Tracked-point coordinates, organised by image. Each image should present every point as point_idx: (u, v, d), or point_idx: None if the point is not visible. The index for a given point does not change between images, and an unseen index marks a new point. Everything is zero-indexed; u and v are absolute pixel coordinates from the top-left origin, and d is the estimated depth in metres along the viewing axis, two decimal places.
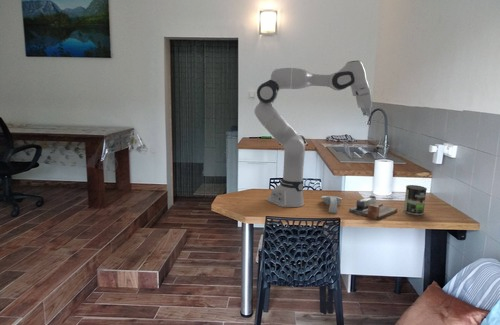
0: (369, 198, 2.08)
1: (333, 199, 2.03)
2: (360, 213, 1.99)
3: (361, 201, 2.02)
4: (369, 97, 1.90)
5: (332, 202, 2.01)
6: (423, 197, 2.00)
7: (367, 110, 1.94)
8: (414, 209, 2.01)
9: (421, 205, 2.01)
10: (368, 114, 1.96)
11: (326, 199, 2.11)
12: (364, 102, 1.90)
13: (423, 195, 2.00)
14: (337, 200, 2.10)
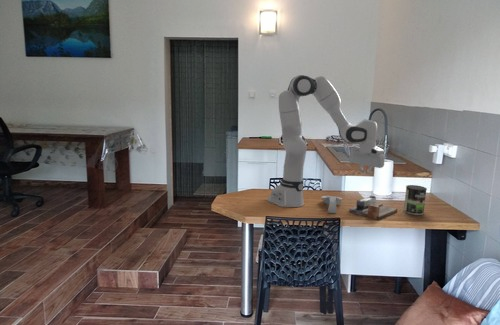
0: (369, 198, 2.08)
1: (332, 199, 2.03)
2: (360, 213, 1.99)
3: (361, 201, 2.02)
4: (383, 158, 2.04)
5: (331, 202, 2.01)
6: (423, 197, 2.00)
7: (370, 168, 2.09)
8: (414, 209, 2.01)
9: (421, 205, 2.01)
10: (369, 171, 2.10)
11: (326, 199, 2.11)
12: (381, 162, 2.02)
13: (423, 195, 2.00)
14: (337, 200, 2.09)
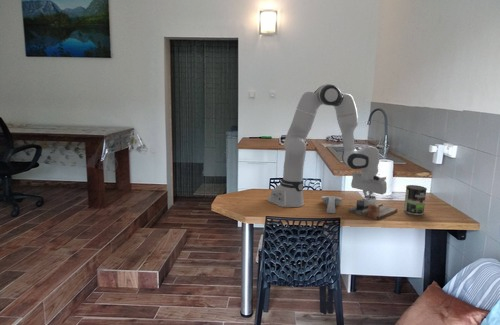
0: (369, 198, 2.08)
1: (331, 199, 2.03)
2: (360, 213, 1.99)
3: (361, 201, 2.02)
4: (386, 184, 2.05)
5: (330, 202, 2.01)
6: (423, 197, 2.00)
7: (371, 193, 2.10)
8: (414, 209, 2.01)
9: (421, 205, 2.01)
10: None
11: (325, 199, 2.10)
12: (383, 188, 2.03)
13: (423, 195, 2.00)
14: (336, 200, 2.09)
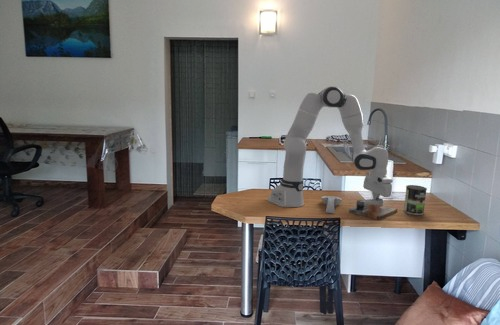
0: (374, 200, 2.05)
1: (331, 199, 2.02)
2: (360, 213, 1.99)
3: (361, 201, 2.02)
4: (390, 187, 1.99)
5: (329, 202, 2.01)
6: (423, 197, 2.00)
7: (377, 195, 2.07)
8: (414, 209, 2.01)
9: (421, 205, 2.01)
10: None
11: (325, 199, 2.10)
12: (386, 191, 1.98)
13: (423, 195, 2.00)
14: (336, 201, 2.09)
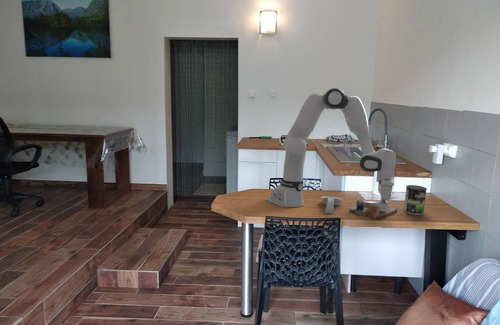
0: (378, 202, 2.01)
1: (330, 199, 2.02)
2: (360, 213, 1.99)
3: (361, 201, 2.02)
4: (390, 191, 1.92)
5: (329, 202, 2.00)
6: (423, 197, 2.00)
7: (383, 198, 2.01)
8: (414, 209, 2.01)
9: (421, 205, 2.01)
10: None
11: (325, 199, 2.10)
12: (383, 193, 1.93)
13: (423, 195, 2.00)
14: (336, 201, 2.08)
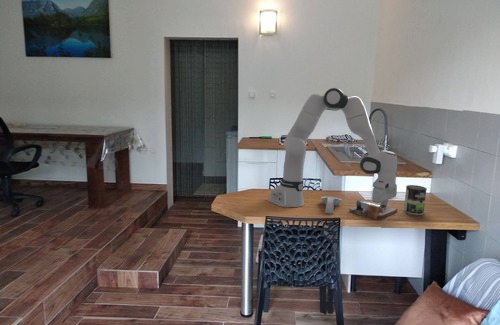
0: (376, 205, 1.96)
1: (330, 200, 2.02)
2: (360, 213, 1.99)
3: (360, 201, 2.02)
4: (379, 193, 1.86)
5: (329, 202, 2.00)
6: (423, 197, 2.00)
7: (381, 202, 1.94)
8: (414, 209, 2.01)
9: (421, 205, 2.01)
10: None
11: (324, 199, 2.10)
12: (373, 195, 1.89)
13: (423, 195, 2.00)
14: (335, 201, 2.08)
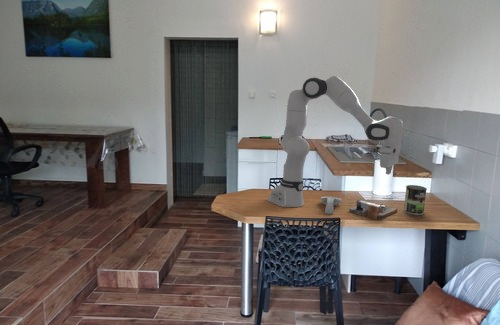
0: (376, 205, 1.96)
1: (330, 200, 2.02)
2: (360, 213, 1.99)
3: (360, 201, 2.02)
4: (387, 158, 1.87)
5: (328, 203, 2.00)
6: (423, 197, 2.00)
7: (386, 168, 1.95)
8: (414, 209, 2.01)
9: (421, 205, 2.01)
10: (387, 172, 1.96)
11: (324, 200, 2.10)
12: (381, 160, 1.89)
13: (423, 195, 2.00)
14: (335, 201, 2.08)
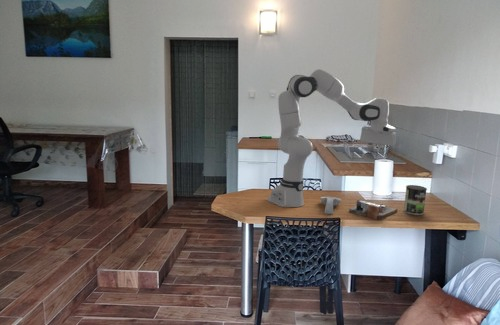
0: (376, 205, 1.96)
1: (330, 200, 2.01)
2: (360, 213, 1.99)
3: (360, 201, 2.02)
4: (395, 136, 2.04)
5: (328, 203, 1.99)
6: (423, 197, 2.00)
7: (380, 146, 2.09)
8: (414, 209, 2.01)
9: (421, 205, 2.01)
10: (378, 150, 2.11)
11: (324, 200, 2.09)
12: (393, 139, 2.02)
13: (423, 195, 2.00)
14: (335, 201, 2.08)
